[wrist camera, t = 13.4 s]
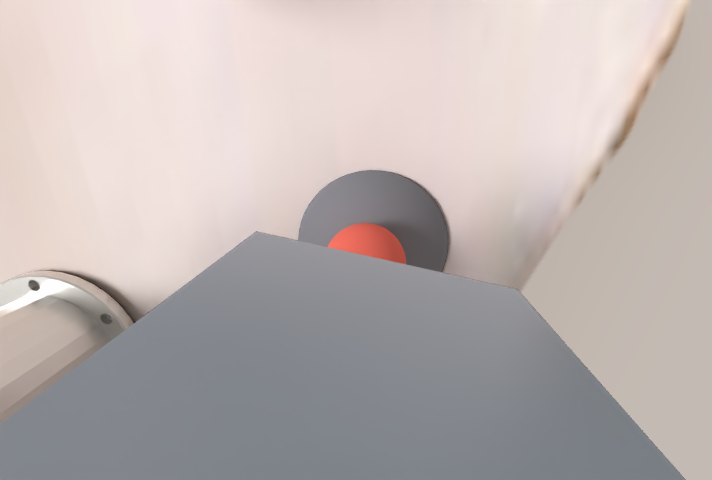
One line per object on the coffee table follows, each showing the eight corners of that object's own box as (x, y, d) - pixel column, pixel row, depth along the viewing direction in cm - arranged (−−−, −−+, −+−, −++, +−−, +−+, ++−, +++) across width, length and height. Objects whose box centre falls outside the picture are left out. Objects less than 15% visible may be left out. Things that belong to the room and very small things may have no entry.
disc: (351, 334, 25) (350, 336, 25) (270, 222, 23) (269, 223, 23) (474, 268, 23) (475, 269, 23) (397, 138, 21) (397, 138, 21)
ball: (382, 208, 18) (376, 206, 23) (302, 256, 19) (313, 244, 24) (429, 287, 19) (413, 269, 24) (350, 333, 19) (351, 306, 24)
